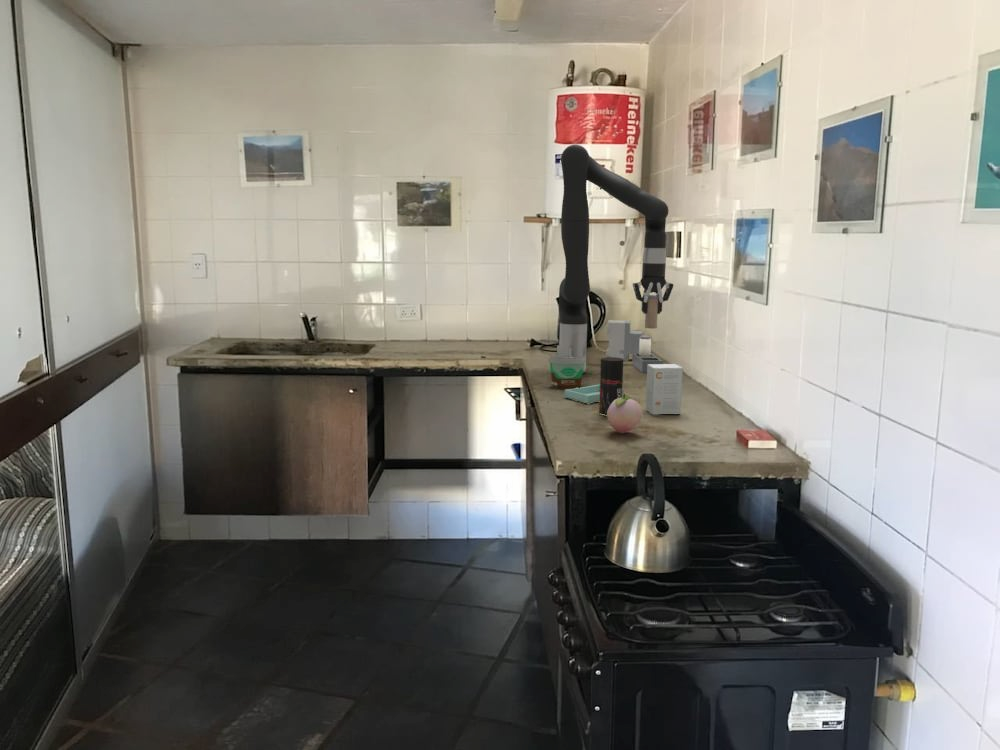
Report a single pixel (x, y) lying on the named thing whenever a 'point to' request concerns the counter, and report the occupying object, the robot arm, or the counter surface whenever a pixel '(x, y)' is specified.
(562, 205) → the robot arm
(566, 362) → the food container
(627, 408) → the decorative fruit
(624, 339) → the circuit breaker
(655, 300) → the brown tall block
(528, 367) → the counter surface
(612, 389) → the deodorant
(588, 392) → the parts tray
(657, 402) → the small box
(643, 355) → the holder
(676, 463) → the counter surface
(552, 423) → the counter surface
